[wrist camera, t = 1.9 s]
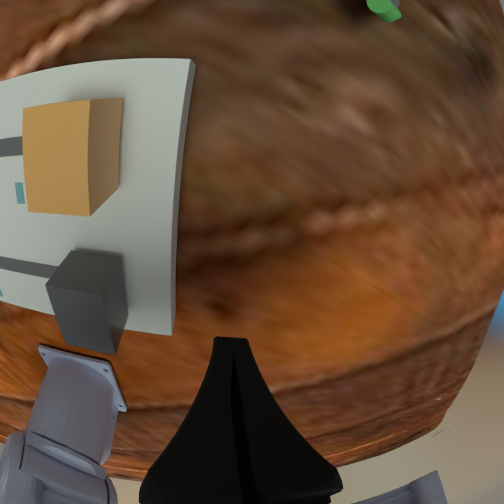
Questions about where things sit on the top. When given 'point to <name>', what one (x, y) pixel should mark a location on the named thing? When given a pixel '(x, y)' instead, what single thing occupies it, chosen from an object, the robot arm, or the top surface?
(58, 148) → the tan fader
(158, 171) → the fader panel
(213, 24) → the top surface
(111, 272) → the black fader
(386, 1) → the gear
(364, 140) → the top surface
